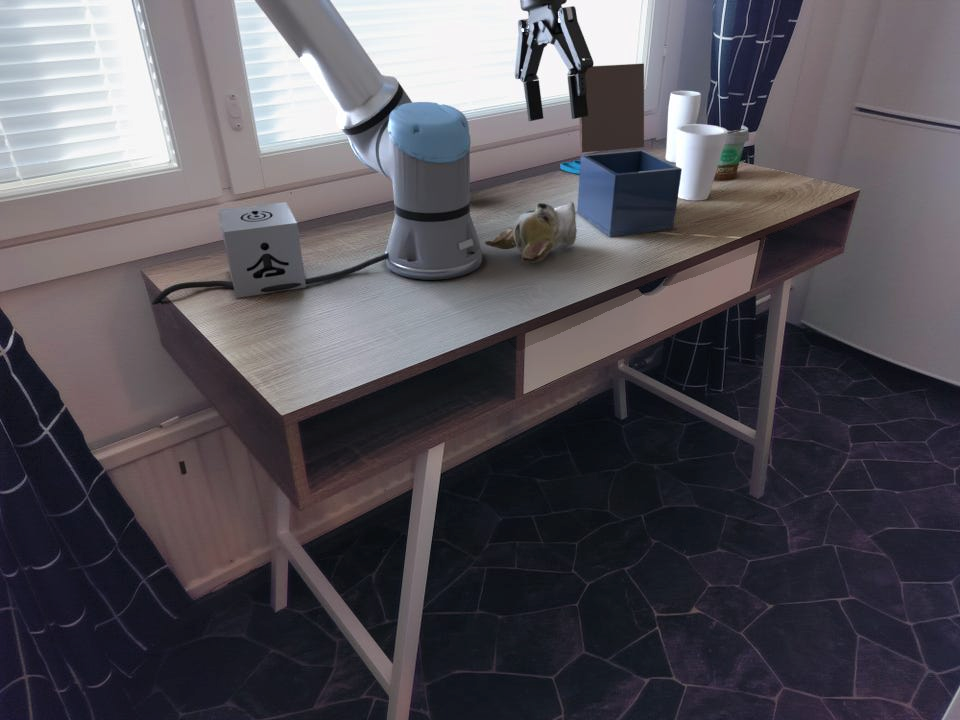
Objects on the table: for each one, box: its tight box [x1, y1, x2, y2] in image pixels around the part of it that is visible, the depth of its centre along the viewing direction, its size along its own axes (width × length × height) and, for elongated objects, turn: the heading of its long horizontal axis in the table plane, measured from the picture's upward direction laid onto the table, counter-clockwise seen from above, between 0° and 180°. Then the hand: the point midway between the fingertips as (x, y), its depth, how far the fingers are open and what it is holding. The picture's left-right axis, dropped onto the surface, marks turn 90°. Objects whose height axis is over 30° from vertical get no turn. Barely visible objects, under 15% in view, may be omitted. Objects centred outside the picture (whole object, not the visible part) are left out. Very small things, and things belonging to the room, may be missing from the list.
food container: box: [713, 124, 750, 181], centre depth 152 cm, size 12×6×10 cm, turn 111°
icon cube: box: [217, 201, 307, 299], centre depth 106 cm, size 10×10×10 cm
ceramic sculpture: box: [484, 201, 578, 264], centre depth 115 cm, size 11×9×15 cm
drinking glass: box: [665, 90, 702, 164], centre depth 162 cm, size 7×7×15 cm
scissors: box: [559, 159, 581, 175], centre depth 155 cm, size 7×1×20 cm
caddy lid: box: [578, 62, 645, 153], centre depth 128 cm, size 14×13×1 cm
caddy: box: [576, 149, 682, 238], centre depth 128 cm, size 14×13×11 cm
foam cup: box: [675, 123, 728, 202], centre depth 140 cm, size 10×9×13 cm
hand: (557, 119), depth 122 cm, fingers open, 13 cm apart
